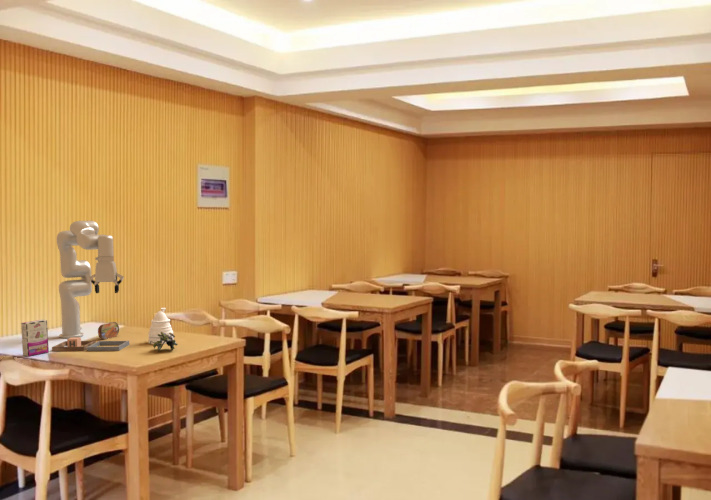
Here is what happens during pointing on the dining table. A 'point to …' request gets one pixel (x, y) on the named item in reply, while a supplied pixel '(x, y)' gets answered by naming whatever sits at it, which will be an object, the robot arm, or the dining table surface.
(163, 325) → the honey pot
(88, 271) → the robot arm
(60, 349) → the walnut frame
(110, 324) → the tin
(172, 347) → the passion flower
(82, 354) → the dining table surface
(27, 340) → the candy bar box
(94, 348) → the grey frame
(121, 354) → the dining table surface
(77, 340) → the letter cube
